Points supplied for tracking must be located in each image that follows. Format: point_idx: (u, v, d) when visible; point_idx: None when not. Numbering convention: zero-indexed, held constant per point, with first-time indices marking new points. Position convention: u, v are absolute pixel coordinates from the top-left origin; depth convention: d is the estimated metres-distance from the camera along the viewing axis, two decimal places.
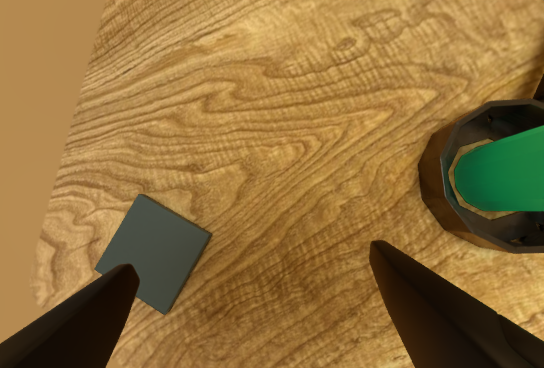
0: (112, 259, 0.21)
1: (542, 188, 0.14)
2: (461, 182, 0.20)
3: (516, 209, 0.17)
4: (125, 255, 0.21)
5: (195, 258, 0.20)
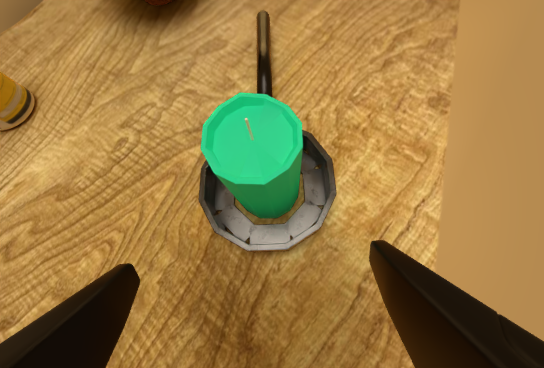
0: None
1: (239, 197, 0.16)
2: None
3: (271, 211, 0.19)
4: None
5: None
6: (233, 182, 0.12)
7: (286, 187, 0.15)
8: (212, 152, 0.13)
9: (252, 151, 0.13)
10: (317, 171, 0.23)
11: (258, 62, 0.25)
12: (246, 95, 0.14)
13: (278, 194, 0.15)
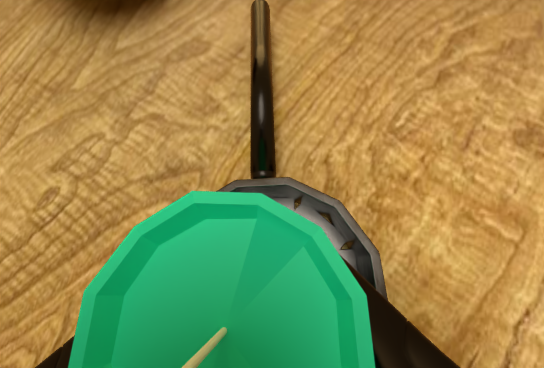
0: None
1: None
2: None
3: None
4: None
5: None
6: None
7: None
8: None
9: None
10: (347, 254, 0.14)
11: (252, 76, 0.16)
12: (210, 200, 0.05)
13: None
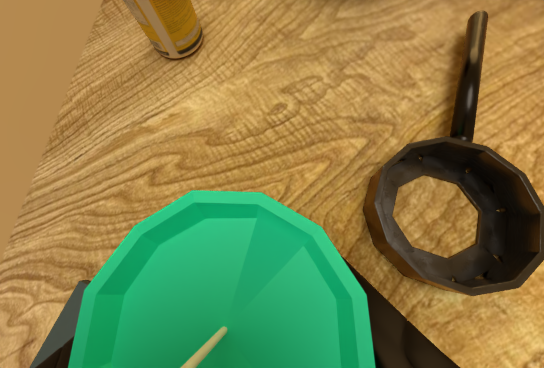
0: None
1: None
2: None
3: None
4: None
5: None
6: None
7: None
8: None
9: None
10: (501, 215, 0.19)
11: (467, 69, 0.21)
12: (210, 200, 0.05)
13: None
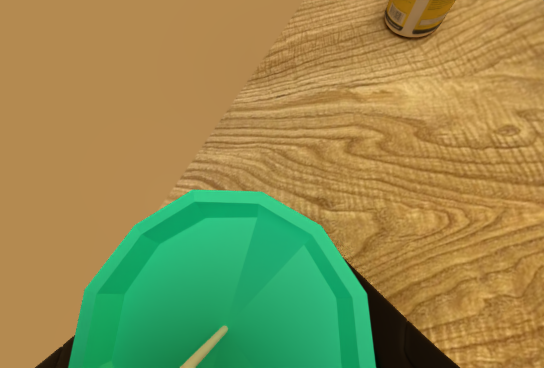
0: None
1: None
2: None
3: None
4: None
5: None
6: None
7: None
8: None
9: None
10: None
11: None
12: (210, 199, 0.05)
13: None
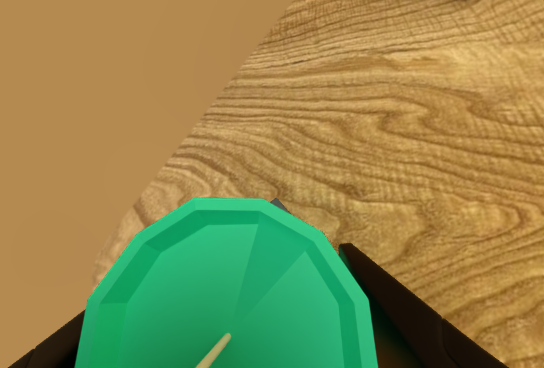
0: None
1: None
2: None
3: None
4: None
5: None
6: None
7: None
8: None
9: None
10: None
11: None
12: (212, 207, 0.05)
13: None
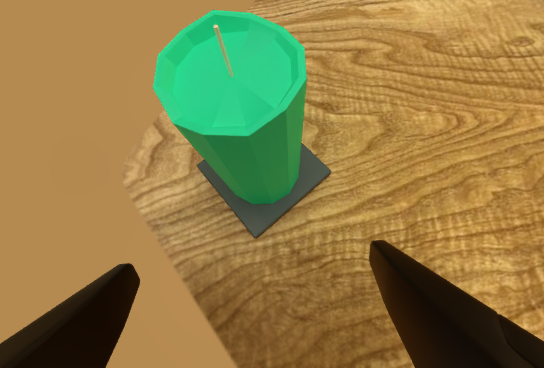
0: None
1: (220, 169, 0.12)
2: None
3: (264, 192, 0.14)
4: None
5: (308, 189, 0.18)
6: (200, 133, 0.08)
7: (282, 151, 0.10)
8: (171, 94, 0.09)
9: (231, 91, 0.09)
10: None
11: None
12: (223, 14, 0.09)
13: (271, 161, 0.11)
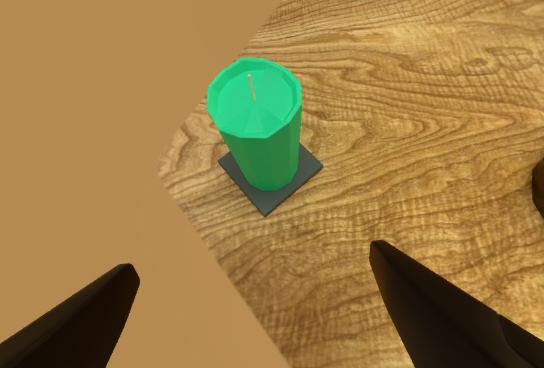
0: None
1: (242, 161, 0.17)
2: None
3: (272, 179, 0.20)
4: None
5: (305, 179, 0.23)
6: (237, 136, 0.13)
7: (286, 148, 0.15)
8: (217, 112, 0.14)
9: (255, 110, 0.14)
10: None
11: None
12: (248, 60, 0.14)
13: (279, 155, 0.16)
